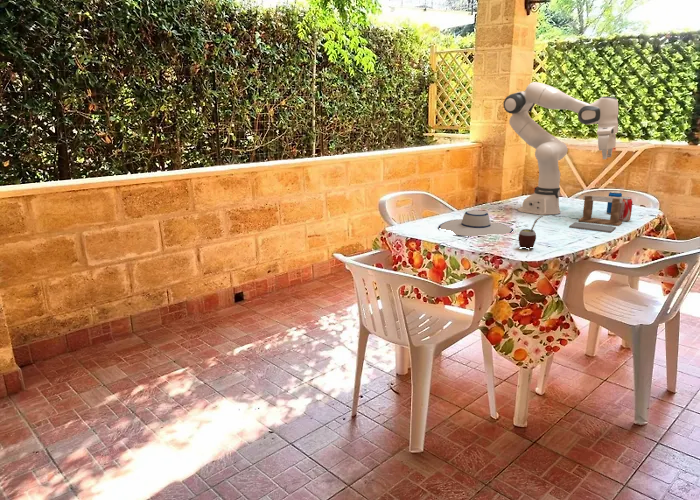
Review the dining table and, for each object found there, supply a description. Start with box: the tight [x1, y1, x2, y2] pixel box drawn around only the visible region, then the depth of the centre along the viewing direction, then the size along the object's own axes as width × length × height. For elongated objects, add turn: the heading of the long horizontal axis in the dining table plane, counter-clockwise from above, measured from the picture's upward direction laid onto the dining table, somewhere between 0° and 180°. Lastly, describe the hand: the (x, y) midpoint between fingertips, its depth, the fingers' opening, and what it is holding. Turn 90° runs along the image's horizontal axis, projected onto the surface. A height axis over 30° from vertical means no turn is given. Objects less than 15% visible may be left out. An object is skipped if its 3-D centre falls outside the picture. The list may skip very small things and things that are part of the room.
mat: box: [568, 221, 617, 234], centre depth 253 cm, size 19×10×1 cm, turn 52°
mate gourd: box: [518, 215, 544, 248], centre depth 219 cm, size 8×8×15 cm
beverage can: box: [606, 190, 623, 215], centre depth 281 cm, size 6×6×12 cm
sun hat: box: [438, 209, 514, 238], centre depth 256 cm, size 36×36×9 cm
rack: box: [578, 196, 624, 227], centre depth 263 cm, size 19×8×13 cm, turn 52°
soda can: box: [619, 196, 633, 223], centre depth 265 cm, size 7×7×12 cm
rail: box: [582, 193, 624, 203], centre depth 261 cm, size 18×3×2 cm, turn 52°
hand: (607, 158), depth 259 cm, fingers open, 8 cm apart
